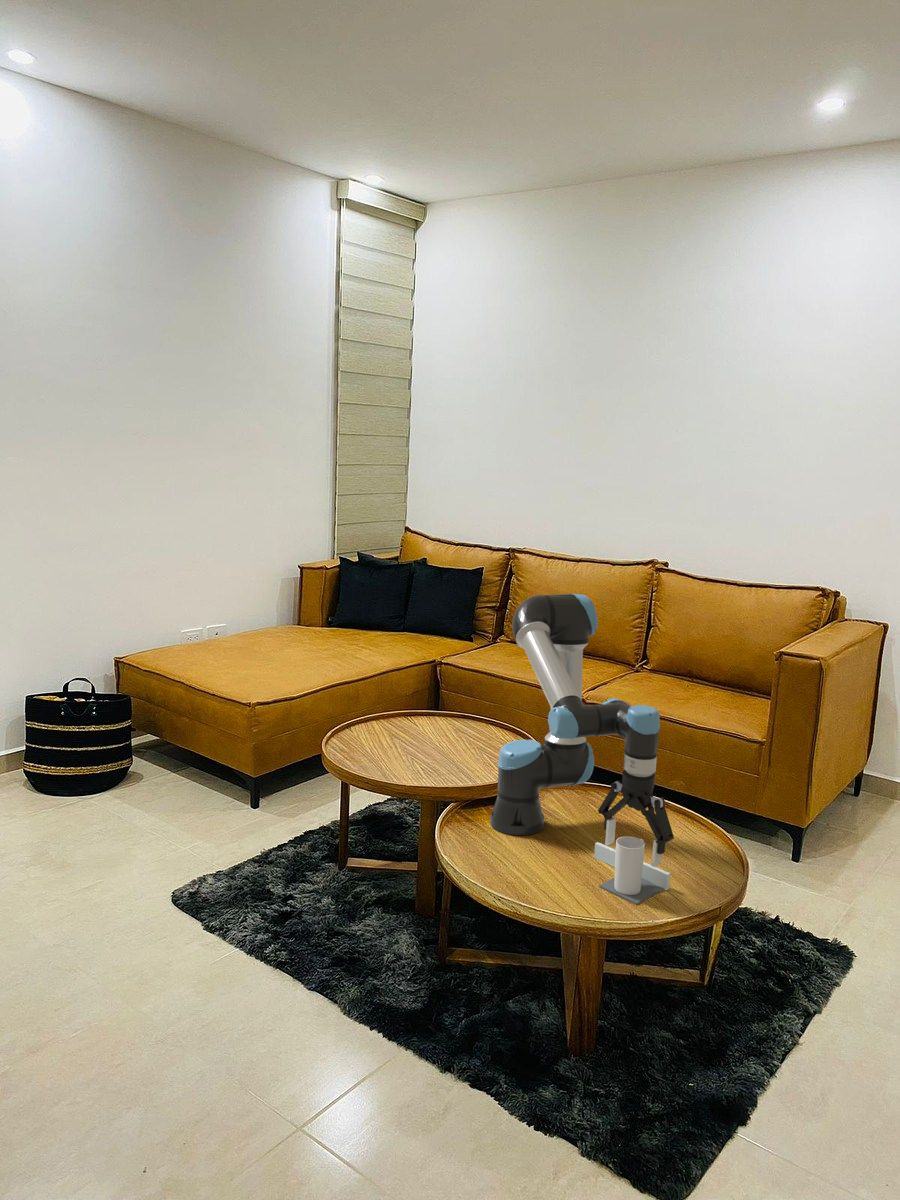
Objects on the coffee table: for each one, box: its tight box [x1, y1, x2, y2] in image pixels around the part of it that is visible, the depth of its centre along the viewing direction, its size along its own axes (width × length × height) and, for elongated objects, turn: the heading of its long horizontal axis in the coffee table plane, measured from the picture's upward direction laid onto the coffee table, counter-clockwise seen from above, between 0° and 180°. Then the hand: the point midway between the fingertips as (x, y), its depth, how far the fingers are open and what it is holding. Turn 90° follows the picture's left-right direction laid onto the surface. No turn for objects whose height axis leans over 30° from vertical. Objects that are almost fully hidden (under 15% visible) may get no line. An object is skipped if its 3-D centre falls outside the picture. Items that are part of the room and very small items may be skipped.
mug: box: [614, 835, 646, 895], centre depth 215 cm, size 10×7×12 cm, turn 137°
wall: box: [593, 841, 671, 891], centre depth 224 cm, size 22×1×4 cm, turn 43°
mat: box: [598, 877, 665, 906], centre depth 216 cm, size 11×11×1 cm
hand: (632, 854), depth 215 cm, fingers open, 13 cm apart
